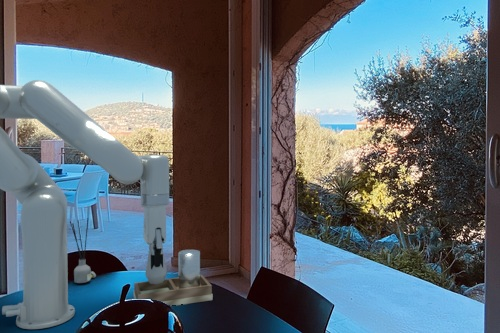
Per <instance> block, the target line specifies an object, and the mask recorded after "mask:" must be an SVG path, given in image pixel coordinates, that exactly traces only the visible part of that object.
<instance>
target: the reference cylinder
mask: <svg viewBox="0 0 500 333" xmlns="http://www.w3.org/2000/svg"><path fill="white" fill-rule="evenodd" d="M177 256H178V257H177V258H178V260H177V261H178V263H177V264H178V272H177V273H178V275H177V276H178V289H182V288H189V287H197V286H200V275H201V251H200V250H199V249H198V250H197V249H182V250H180V251H179V252H178V255H177Z"/></svg>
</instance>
